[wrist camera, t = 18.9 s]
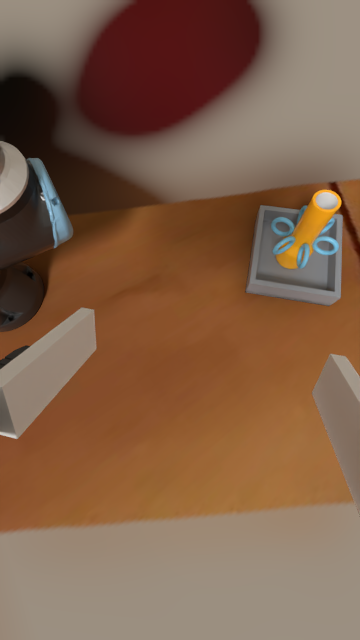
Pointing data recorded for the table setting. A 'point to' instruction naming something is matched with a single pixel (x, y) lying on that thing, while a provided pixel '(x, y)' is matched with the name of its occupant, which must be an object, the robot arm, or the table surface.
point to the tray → (294, 284)
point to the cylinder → (307, 231)
